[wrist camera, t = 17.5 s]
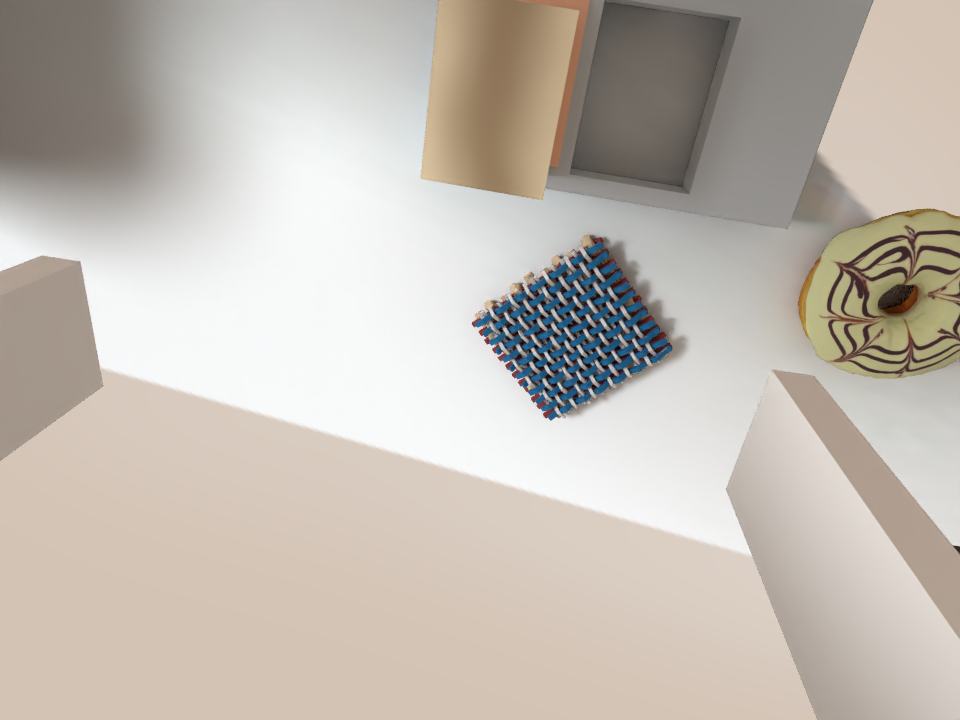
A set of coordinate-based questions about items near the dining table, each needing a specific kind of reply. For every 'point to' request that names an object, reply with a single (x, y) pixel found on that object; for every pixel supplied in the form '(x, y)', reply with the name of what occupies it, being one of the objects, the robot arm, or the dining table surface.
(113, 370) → the dining table surface
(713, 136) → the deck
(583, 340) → the woven mat
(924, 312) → the decorated donut
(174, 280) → the dining table surface
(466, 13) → the block
